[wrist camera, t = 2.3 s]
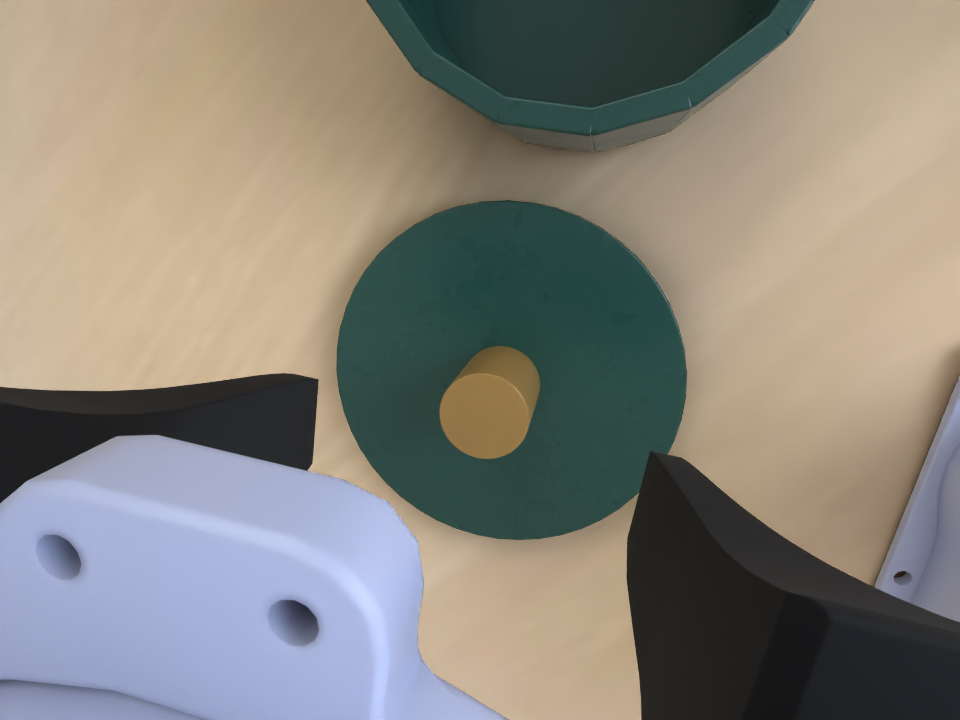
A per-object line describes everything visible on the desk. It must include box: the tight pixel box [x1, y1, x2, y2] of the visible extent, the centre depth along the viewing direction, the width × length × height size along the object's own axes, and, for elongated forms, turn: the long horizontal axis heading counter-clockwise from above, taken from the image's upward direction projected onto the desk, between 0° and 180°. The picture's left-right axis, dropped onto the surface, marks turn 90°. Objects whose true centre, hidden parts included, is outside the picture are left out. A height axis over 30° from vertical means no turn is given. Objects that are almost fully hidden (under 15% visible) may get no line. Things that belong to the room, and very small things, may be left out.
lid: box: [337, 200, 687, 540], centre depth 19 cm, size 12×12×4 cm
